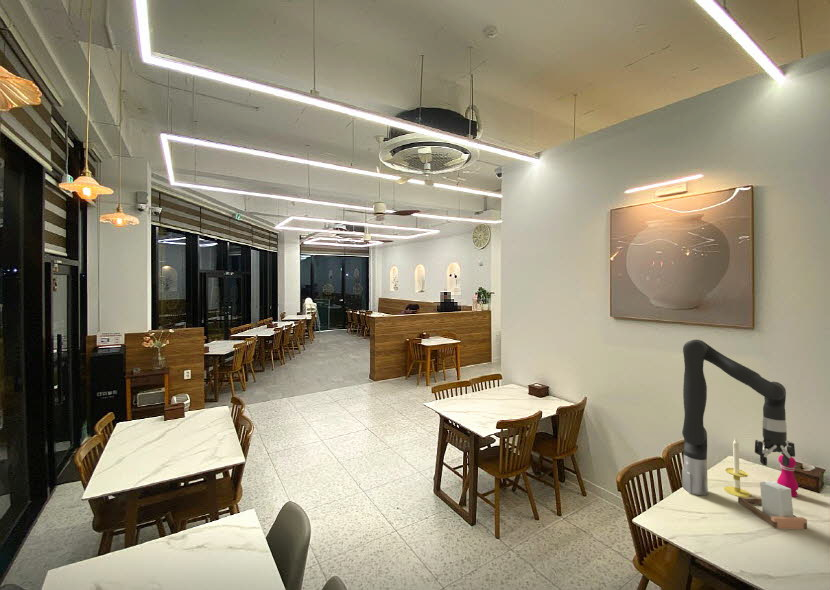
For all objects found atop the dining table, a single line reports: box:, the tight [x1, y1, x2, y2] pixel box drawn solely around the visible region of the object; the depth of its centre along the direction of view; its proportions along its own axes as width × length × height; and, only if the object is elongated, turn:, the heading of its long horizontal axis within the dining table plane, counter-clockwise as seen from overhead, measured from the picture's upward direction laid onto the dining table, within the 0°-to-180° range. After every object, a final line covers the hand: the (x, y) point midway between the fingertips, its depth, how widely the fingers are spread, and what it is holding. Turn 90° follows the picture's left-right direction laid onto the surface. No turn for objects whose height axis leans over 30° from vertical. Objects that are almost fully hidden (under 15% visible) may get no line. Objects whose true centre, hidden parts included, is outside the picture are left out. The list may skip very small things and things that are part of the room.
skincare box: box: [759, 480, 794, 517], centre depth 156 cm, size 8×6×15 cm
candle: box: [723, 437, 752, 498], centre depth 179 cm, size 10×10×27 cm
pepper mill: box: [776, 454, 799, 498], centre depth 176 cm, size 7×7×20 cm
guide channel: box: [737, 496, 808, 530], centre depth 160 cm, size 12×19×2 cm, turn 175°
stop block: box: [771, 516, 808, 530], centre depth 151 cm, size 12×2×4 cm, turn 85°
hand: (774, 465), depth 159 cm, fingers open, 8 cm apart
